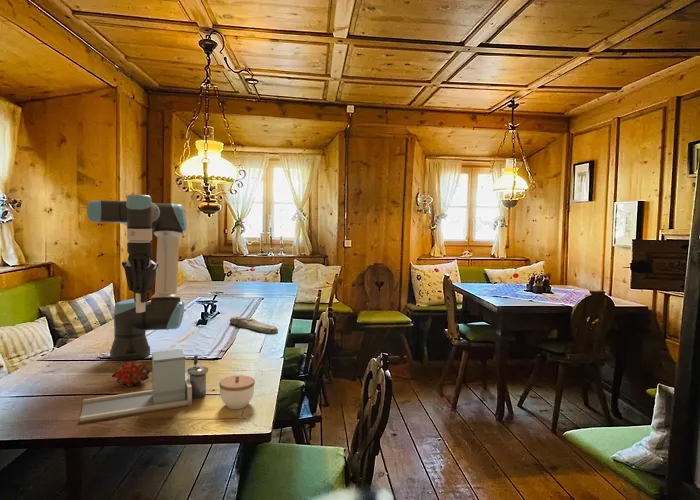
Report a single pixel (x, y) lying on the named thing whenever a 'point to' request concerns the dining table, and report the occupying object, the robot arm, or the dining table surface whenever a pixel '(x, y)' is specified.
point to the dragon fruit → (132, 373)
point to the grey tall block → (168, 376)
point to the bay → (128, 404)
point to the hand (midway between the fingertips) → (140, 311)
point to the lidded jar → (237, 391)
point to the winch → (198, 379)
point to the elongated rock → (253, 325)
